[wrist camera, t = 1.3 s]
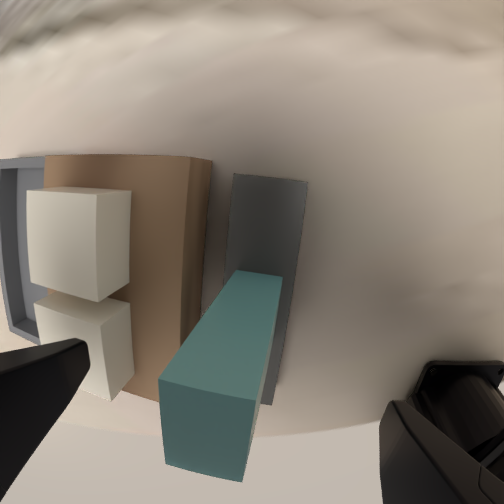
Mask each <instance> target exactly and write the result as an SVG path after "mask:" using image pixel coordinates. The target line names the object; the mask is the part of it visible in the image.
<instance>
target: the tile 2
mask: <svg viewBox="0 0 504 504" xmlns="http://www.w3.org/2000/svg"><path fill="white" fill-rule="evenodd" d="M34 309H35V316H36V321H37V327H38V332H39V337H40V342H41V345H43V344H48V343H53V342H57V341H62V340H67V339H71V338H78V339H81V340H84V341H85V342H86V343H87V344H88V350H89V356H90V363H91V365H90V369H89V371H88V373H87V375H86V376H85V378H84V380H83V381H82V383H81V385H80V386H79V389H81V390H83V391H86V392H88V393H90V394H93V395H95V396H98V397H100V398H103V399H105V400H108V401H112V400H113V399H114V398H115V397H116V395H117V394H118V393H119V392H120V391H121V390H122V388H123V387H124V386H125V385H126V384H127V382H128V381H129V380H130V379H131V378H132V377H133V375H134V374H135V371H134V360H133V348H132V334H131V315H130V303H127V302H123V301H119V300H115V299H111V298H107V297H106V298H104V299H103V300H101V301H100V302H95V301H91V300H88V299H84V298H81V297H77V296H74V295H70V294H67V293H63V292H60V291H56V292H54V293H52V294H50V295H48V296H46V297H44V298H42V299H40V300H38V301H36V302H35V303H34Z"/></svg>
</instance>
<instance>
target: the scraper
mask: <svg viewBox="0 0 504 504" xmlns="http://www.w3.org/2000/svg"><path fill="white" fill-rule="evenodd" d="M307 186H308V182H303V181H295V180H288V179H280V178H271V177H263V176H254V175H244V174H234V177H233V186H232V196H231V206H230V216H229V226H228V236H227V247H226V258H225V269H224V280H223V289H222V290H221V291H220V293H219V294H218V296H217V297H216V298H215V300H214V301H213V303H212V304H211V305H210V307H209V308H208V309H207V311H206V312H205V314H204V315H203V316H202V318H201V319H200V321H199V322H198V323H197V325H196V326H195V328H194V329H193V330H192V332H191V333H190V335H189V336H188V337H187V339H186V340H185V341H184V343H183V344H182V346H181V347H180V348H179V350H178V351H177V353H176V354H175V355H174V357H173V358H172V360H171V361H170V362H169V364H168V365H167V367H166V368H165V369H164V371H163V372H162V374H161V375H160V376H159V378H158V389H159V403H160V415H161V426H162V436H163V445H164V453H165V462H166V464H168V465H171V466H175V467H178V468H182V469H185V470H189V471H193V472H196V473H201V474H205V475H209V476H213V477H218V478H222V479H227V480H232V481H237V482H242V480H243V476H244V472H245V468H246V464H247V459H248V455H249V451H250V446H251V442H252V438H253V434H254V429H255V425H256V420H257V416H258V411H259V406H260V404H266V405H272V402H273V397H274V392H275V387H276V382H277V377H278V372H279V367H280V361H281V356H282V350H283V345H284V339H285V334H286V328H287V322H288V316H289V310H290V304H291V298H292V292H293V286H294V279H295V273H296V266H297V260H298V253H299V246H300V239H301V232H302V225H303V217H304V210H305V202H306V194H307Z"/></svg>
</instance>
